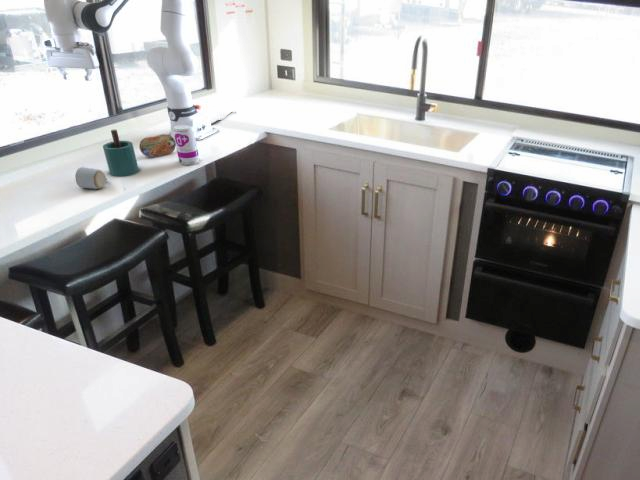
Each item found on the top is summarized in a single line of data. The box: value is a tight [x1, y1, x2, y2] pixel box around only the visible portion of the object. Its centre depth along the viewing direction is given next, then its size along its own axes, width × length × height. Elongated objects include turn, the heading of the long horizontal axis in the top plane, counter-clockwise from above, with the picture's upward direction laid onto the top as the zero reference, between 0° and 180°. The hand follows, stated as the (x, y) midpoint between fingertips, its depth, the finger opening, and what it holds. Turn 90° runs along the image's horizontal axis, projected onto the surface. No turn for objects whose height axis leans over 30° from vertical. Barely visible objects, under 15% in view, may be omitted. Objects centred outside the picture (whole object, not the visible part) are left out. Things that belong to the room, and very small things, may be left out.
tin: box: [138, 133, 176, 159], centre depth 249 cm, size 15×3×8 cm, turn 131°
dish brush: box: [110, 129, 121, 148], centre depth 229 cm, size 5×5×16 cm
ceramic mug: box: [75, 166, 109, 190], centre depth 218 cm, size 11×8×8 cm
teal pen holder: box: [102, 140, 139, 177], centre depth 231 cm, size 11×11×11 cm
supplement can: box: [173, 124, 200, 166], centre depth 240 cm, size 8×8×15 cm
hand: (77, 79), depth 225 cm, fingers open, 8 cm apart
